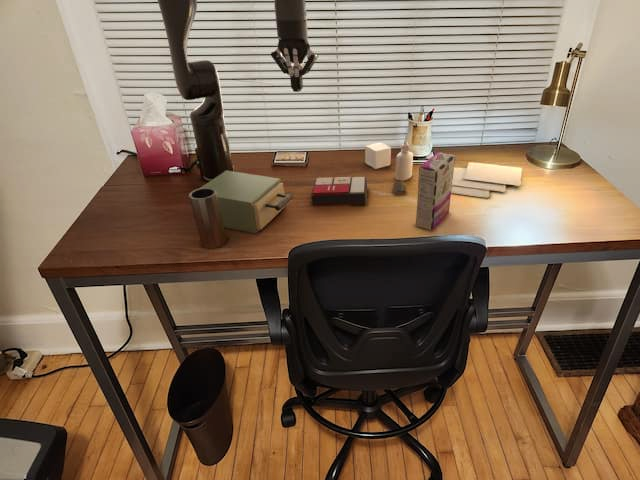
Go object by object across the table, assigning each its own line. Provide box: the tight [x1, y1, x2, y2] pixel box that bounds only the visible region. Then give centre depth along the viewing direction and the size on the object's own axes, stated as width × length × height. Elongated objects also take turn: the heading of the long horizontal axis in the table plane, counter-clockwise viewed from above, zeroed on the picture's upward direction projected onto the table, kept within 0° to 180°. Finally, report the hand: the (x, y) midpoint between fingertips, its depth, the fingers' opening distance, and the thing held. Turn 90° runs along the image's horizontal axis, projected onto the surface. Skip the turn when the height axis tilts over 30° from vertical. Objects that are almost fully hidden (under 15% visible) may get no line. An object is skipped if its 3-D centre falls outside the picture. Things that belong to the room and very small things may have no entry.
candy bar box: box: [415, 151, 456, 232], centre depth 110 cm, size 11×5×16 cm, turn 148°
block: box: [392, 180, 407, 196], centre depth 128 cm, size 4×6×2 cm, turn 0°
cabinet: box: [198, 170, 281, 234], centre depth 115 cm, size 17×15×9 cm
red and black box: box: [310, 176, 368, 207], centre depth 125 cm, size 11×4×15 cm
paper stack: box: [451, 161, 523, 199], centre depth 134 cm, size 23×25×1 cm
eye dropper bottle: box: [394, 139, 414, 182], centre depth 132 cm, size 4×6×12 cm
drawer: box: [253, 182, 293, 231], centre depth 114 cm, size 20×13×7 cm
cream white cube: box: [364, 141, 392, 170], centre depth 143 cm, size 6×6×6 cm
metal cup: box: [188, 187, 227, 249], centre depth 103 cm, size 6×6×13 cm
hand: (297, 91), depth 117 cm, fingers closed
